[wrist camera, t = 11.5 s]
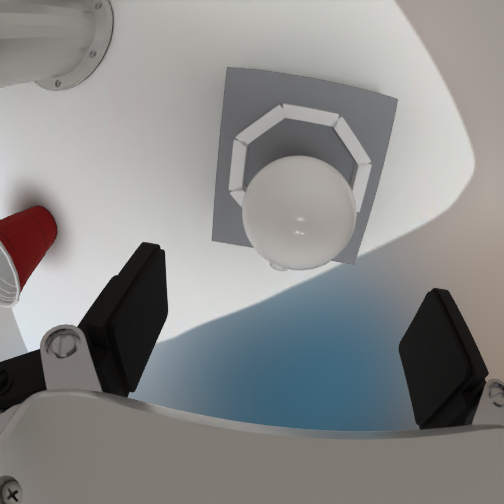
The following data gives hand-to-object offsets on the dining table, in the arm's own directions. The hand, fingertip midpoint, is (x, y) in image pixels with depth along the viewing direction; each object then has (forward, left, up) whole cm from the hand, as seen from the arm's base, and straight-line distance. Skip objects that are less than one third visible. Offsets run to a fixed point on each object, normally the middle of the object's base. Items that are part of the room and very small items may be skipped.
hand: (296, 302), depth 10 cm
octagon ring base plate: (+2, 0, -21) cm, 21 cm away
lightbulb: (0, 0, -16) cm, 16 cm away
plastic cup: (+12, -32, -21) cm, 40 cm away
